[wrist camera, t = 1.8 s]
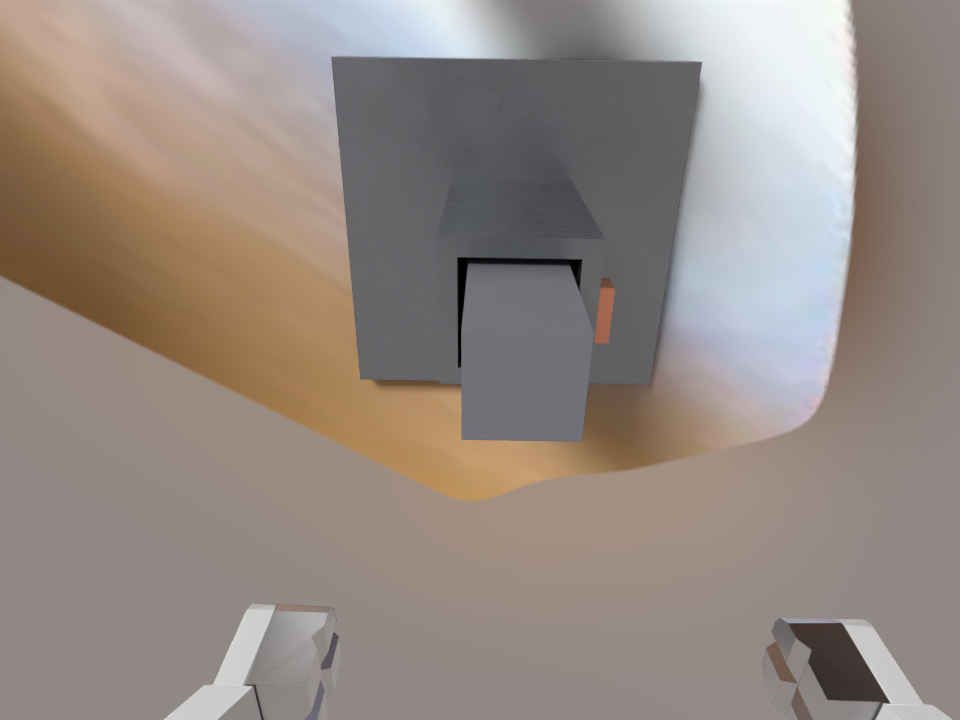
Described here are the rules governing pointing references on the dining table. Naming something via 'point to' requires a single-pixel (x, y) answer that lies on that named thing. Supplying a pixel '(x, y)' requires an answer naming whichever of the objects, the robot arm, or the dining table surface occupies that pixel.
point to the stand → (509, 195)
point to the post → (524, 351)
